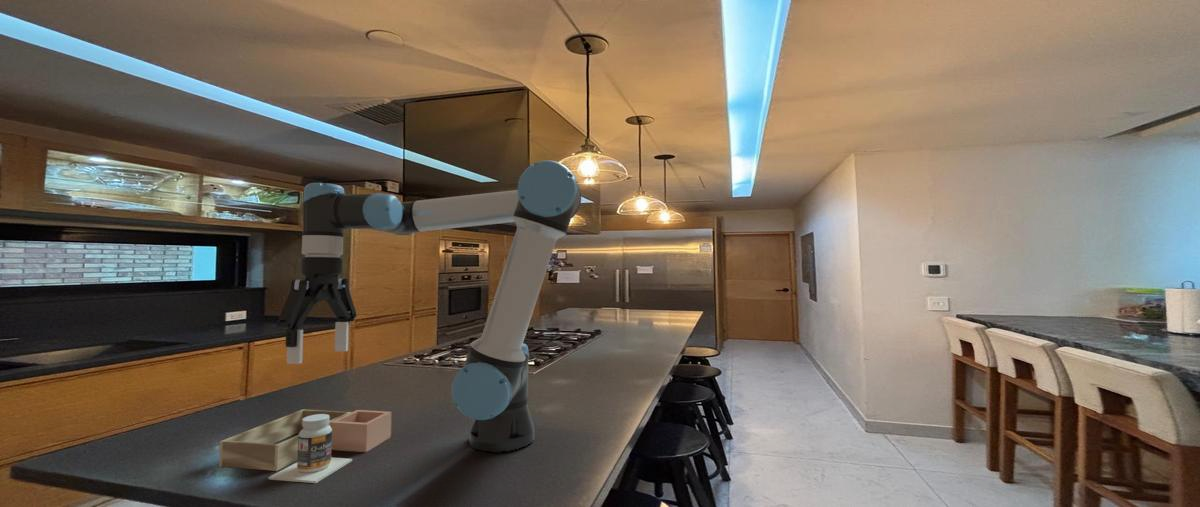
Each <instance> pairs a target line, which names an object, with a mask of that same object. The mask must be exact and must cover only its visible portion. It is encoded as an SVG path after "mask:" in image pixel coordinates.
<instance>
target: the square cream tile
mask: <svg viewBox="0 0 1200 507" xmlns="http://www.w3.org/2000/svg"><path fill="white" fill-rule="evenodd" d="M352 462H353V458H345V457H333V456H331V463H330V465H329V466H328V467H326V468H325V469H322V470H320V471H316V472H310V473H303V472H300V471H298V469H297V462H294V463H292V464H290V465H288V466H286V467H284V469H283V468H282V469H280V471H279V470H278V471H277V472H276V473H274V474H272V475H270V476H268V478H267V479H268V480H272V481H282V482H284V481H285V482H297V483H298V482H299V483H308V484H309V483H310V484H317V483H319V482H320V481H322V480H323V479H325V478H327V477H329V476H330V475H331V474H333V473H336V471H338V470H340V469H341V468H343V467H344V466H347V465H348V464H349V463H352Z"/></svg>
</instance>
